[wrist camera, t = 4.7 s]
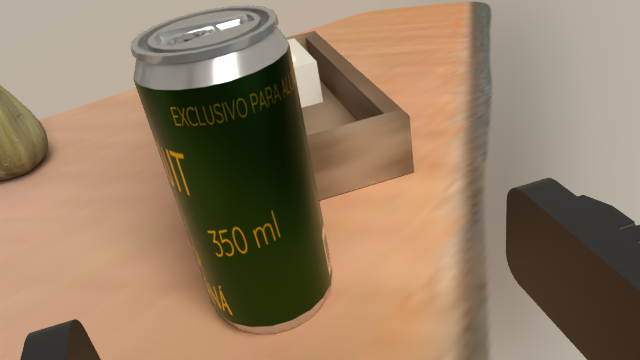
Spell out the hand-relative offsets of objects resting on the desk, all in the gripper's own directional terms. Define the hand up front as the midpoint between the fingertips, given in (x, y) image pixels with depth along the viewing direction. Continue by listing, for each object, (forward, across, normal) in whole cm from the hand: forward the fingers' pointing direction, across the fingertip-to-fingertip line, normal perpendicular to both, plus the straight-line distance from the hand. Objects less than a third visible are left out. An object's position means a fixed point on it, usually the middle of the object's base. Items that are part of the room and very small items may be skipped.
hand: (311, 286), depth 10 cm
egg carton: (+31, -3, +9) cm, 32 cm away
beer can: (+12, 0, +10) cm, 15 cm away
